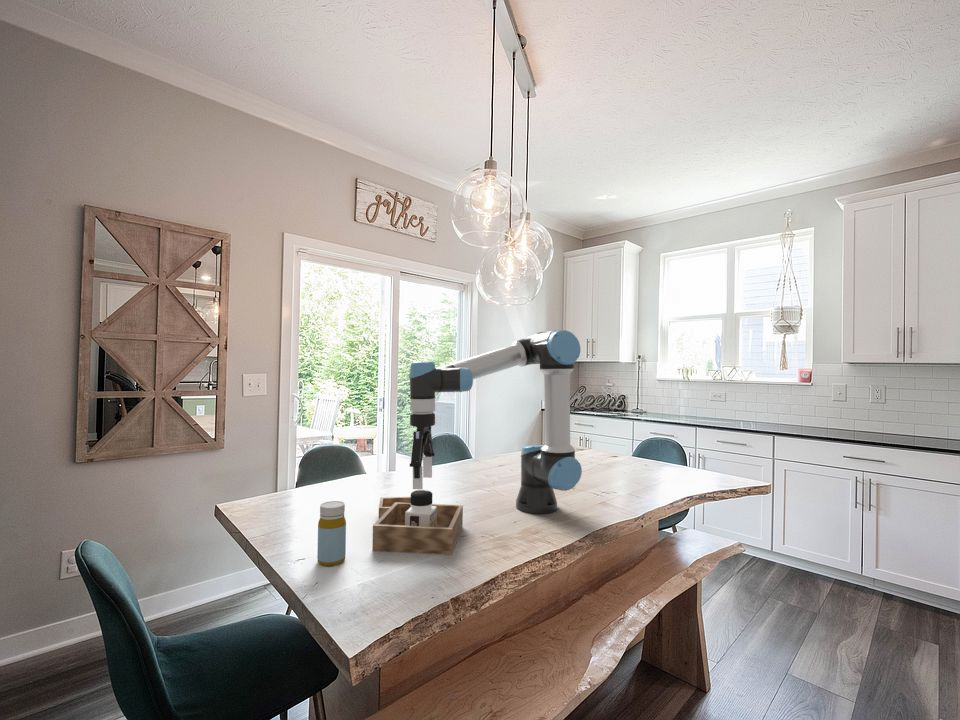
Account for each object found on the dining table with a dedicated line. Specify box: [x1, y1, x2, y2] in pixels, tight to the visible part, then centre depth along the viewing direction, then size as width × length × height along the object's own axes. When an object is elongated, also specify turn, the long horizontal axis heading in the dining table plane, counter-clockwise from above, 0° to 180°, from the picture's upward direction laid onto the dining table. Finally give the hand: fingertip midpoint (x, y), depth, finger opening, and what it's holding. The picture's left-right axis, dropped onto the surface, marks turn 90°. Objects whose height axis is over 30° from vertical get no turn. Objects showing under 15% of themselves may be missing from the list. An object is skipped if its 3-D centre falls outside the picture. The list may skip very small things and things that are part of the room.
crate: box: [371, 502, 464, 556], centre depth 140 cm, size 22×22×7 cm
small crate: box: [377, 496, 411, 522], centre depth 156 cm, size 12×12×6 cm
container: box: [405, 489, 437, 527], centre depth 140 cm, size 8×8×13 cm
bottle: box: [316, 500, 347, 567], centre depth 122 cm, size 7×7×15 cm
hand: (422, 483), depth 140 cm, fingers open, 13 cm apart
